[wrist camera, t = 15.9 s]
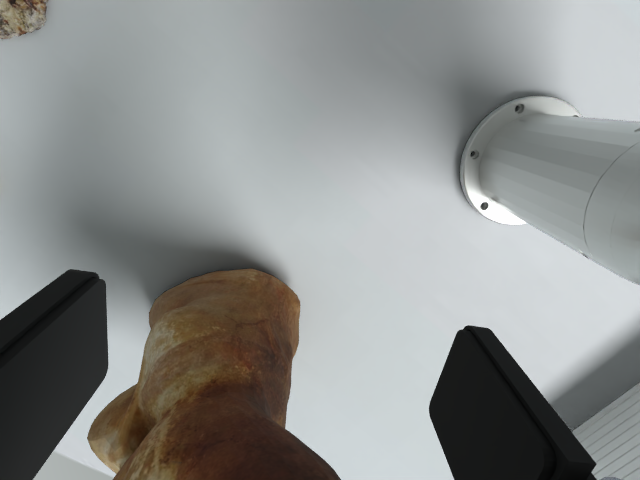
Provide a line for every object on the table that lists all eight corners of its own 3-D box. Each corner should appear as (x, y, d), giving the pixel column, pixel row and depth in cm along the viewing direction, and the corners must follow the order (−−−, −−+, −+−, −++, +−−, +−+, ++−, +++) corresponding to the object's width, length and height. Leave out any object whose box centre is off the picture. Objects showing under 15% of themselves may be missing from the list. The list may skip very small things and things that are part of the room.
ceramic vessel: (128, 294, 41) (-256, 726, 13) (297, 202, 37) (273, 511, 10) (210, 388, 46) (65, 837, 18) (364, 314, 43) (474, 722, 15)
